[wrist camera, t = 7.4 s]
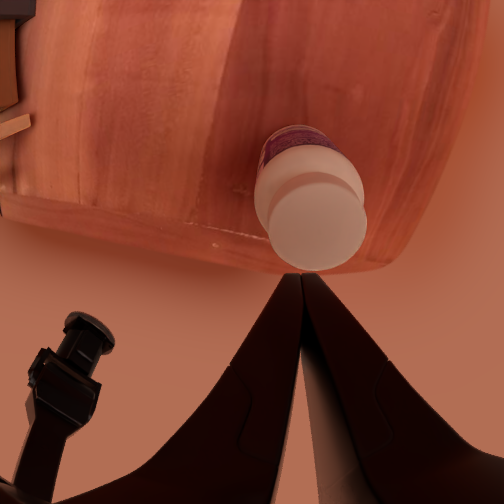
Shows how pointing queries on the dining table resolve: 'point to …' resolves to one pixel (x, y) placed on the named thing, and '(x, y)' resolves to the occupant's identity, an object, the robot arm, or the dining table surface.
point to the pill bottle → (309, 199)
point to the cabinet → (17, 10)
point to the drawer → (9, 79)
